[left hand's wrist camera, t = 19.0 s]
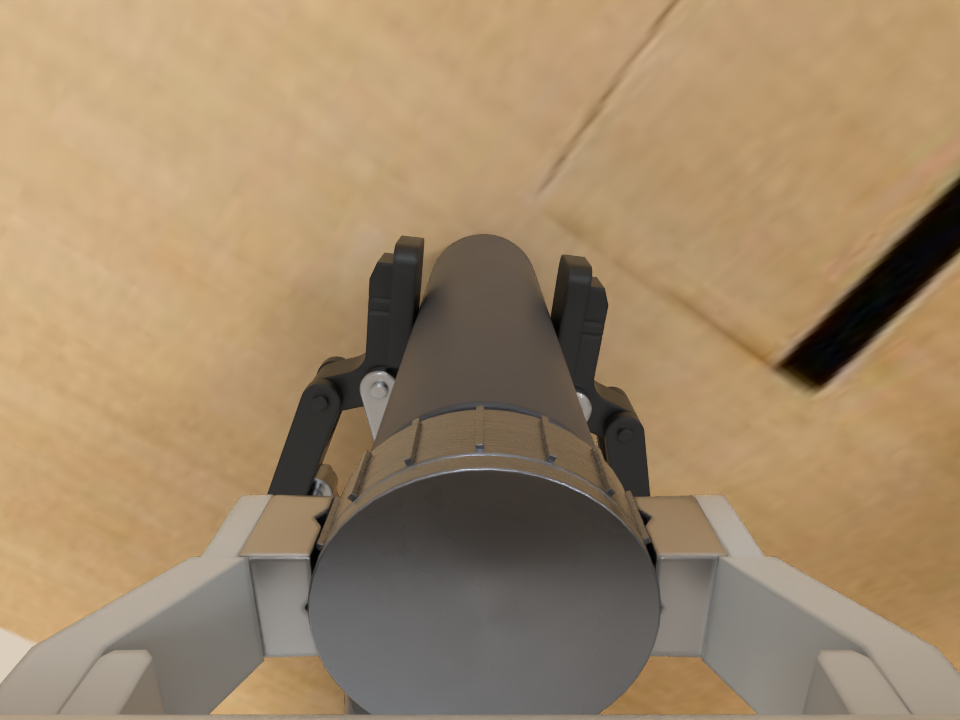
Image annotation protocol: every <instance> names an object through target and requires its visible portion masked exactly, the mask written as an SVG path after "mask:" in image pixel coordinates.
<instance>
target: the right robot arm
mask: <svg viewBox="0 0 960 720" xmlns="http://www.w3.org/2000/svg"><path fill="white" fill-rule="evenodd" d="M423 253H424V238H418V237H409V236H401V237H400V239H399V240H398V241H397V243H396V245H395V250H394V254H391V253H384V254H383V256H382V257H381V258H380V260H379V261H378V262H377V264H376V266H375V268H374V270H373V273H372V275H371V277H370V283H369V303H368V323H367V344H366V353H364V354H363V355H361V356H358V357H354V358H349V359H345V358H342V357H331V358H328V359H327V360H325V361H324V362H323V364H322V365H321V367H320V368H319V370H318V372H317V375H316V377H315V378H314V380H313V381H312V382H311V383H310V384H309V385H308V386H307V388H306V389H305V391H304V392H303V394H302V397H301V400H300V402H299V405H298V408H297V411H296V414H295V417H294V420H293V422H292V425H291V428H290V431H289V434H288V437H287V440H286V442H285V445H284V448H283V451H282V454H281V457H280V460H279V462H278V465H277V468H276V471H275V474H274V477H273V480H272V483H271V485H270V488H269V491H268V494H267V495H274V496H275V495H306V496H338V497H340V496H339V495H338V492H337V485H338V478H337V475H336V473H335V472H334V471H333V469H332V467H331V466H330V465H328V464H322V463H323V460H324V458H325V455H326V452H327V450H328V447H329V444H330V442H331V439H332V437H333V434H334V431H335V429H336V426H337V423H338V421H339V418H340V415H341V413H342V411H343V410H348V409H352V408H357V407H361V406H364V408H365V411H366V415H367V418H368V422H369V425H370V429H371V432H372V436H373V440H374V441H375V438H376V435H377V432H378V429H379V426H380V423H381V421H382V418H383V415H384V412H385V409H386V406H387V403H388V400H389V397H390V394H391V391H392V388H393V385H394V382H395V379H396V376H397V373H398V370H399V367H400V365H401V362H402V359H403V356H404V353H405V350H406V347H407V344H408V341H409V338H410V335H411V332H412V329H413V326H414V323H415V320H416V317H417V314H418V311H419V303H420V291H421V278H422V266H423ZM607 309H608V302H607V297H606V292H605V288H604V287H603V285H602V284H601V283H600V281H599V280H598V279H597V277H592V267H591V265H590V264H589V262H588V261H587V260H586V258H585V257H579V256H571V255H562V256H561V259H560V263H559V268H558V275H557V281H556V287H555V293H554V299H553V306H552V312H551V321H552V324H553V327H554V330H555V332H556V335H557V338H558V341H559V344H560V347H561V350H562V353H563V356H564V358H565V361H566V364H567V367H568V370H569V373H570V376H571V379H572V382H573V384H574V387H575V390H576V393H577V396H578V399H579V402H580V405H581V408H582V410H583V413H584V416H585V419H586V422H587V425H588V428H589V431H590V432H591V433H593V434H595V435H597V440H598V447H599V448H600V449H601V452H602V455H603V457H604V460H605V462H606V463H607V464H608V465H609V466H610V467H611V469H612V470H613V471H614V473H615V475H616V476H617V478H618V479H619V481H620V483H621V484H622V486H623V489H624V491H625V492H627V491H629V490H630V491H631V493H632V496H633V497H650V490H649V479H648V468H647V457H646V446H645V435H644V428H643V426H642V424H641V422H640V420H639V419H638V417H637V415H636V413H635V411H634V409H633V407H632V405H631V403H630V401H629V399H628V398H627V396H626V394H625V392H624V391H623V390H621V389H619V388H617V387H606V386H604V385H602V384H600V383H598V382H596V381H595V380H594V376H595V371H596V366H597V360H598V355H599V350H600V345H601V340H602V335H603V330H604V323H605V319H606V314H607ZM344 715H372V714H371V713H369V712H368V711H366V710H365V709H363V708H362V707H361V706H359V705H358V704H357V703H356V702H355V701H354V700H352V699H351V698H350V697H349V696H348V695H347V694H346V693H345V694H344Z"/></svg>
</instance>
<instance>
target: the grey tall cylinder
mask: <svg viewBox="0 0 960 720" xmlns="http://www.w3.org/2000/svg"><path fill="white" fill-rule="evenodd" d="M476 406H484V410H501V411H511V412H516V413H520V414H525V415H529V416H533V417H536V418H539V419H540V418H541V416H542V415H543V416H546V417H548V419H549V422H550V423H553V424H555V425H557V426H559V427H561V428H563V429H565V430H567V431H569V432H571V433H572V434H574V435H575V436H577V437H578V438H580V439H581V440H583V441H584V442H585V443H587V444H588V445H589V446H590V447H591V448H594V447H595V445H594V442H593V439H592V437H591V434H590V431H589V428H588V425H587V422H586V419H585V416H584V413H583V410H582V408H581V405H580V402H579V399H578V396H577V393H576V390H575V387H574V384H573V382H572V379H571V376H570V373H569V370H568V367H567V364H566V361H565V358H564V356H563V353H562V350H561V347H560V344H559V341H558V338H557V335H556V332H555V330H554V327H553V324H552V321H551V318H550V315H549V312H548V309H547V306H546V304H545V301H544V298H543V295H542V292H541V289H540V286H539V283H538V280H537V277H536V275H535V272H534V269H533V266H532V264H531V262H530V261H529V259H528V257H527V256H526V255H525V253H524V252H523V251H522V250H521V249H520V248H519V247H517V246H516V245H515V244H514V243H512V242H510V241H508V240H506V239H504V238H502V237H498V236H495V235H488V234H479V235H472V236H468V237H465V238H463V239H460V240H458V241H456V242H455V243H453V244H452V245H450V246H449V247H448V248H447V249H446V250H445V251H444V252H443V253H442V254H441V255H440V257H439V258H438V260H437V261H436V263H435V265H434V268H433V270H432V273H431V276H430V279H429V282H428V285H427V288H426V291H425V294H424V297H423V300H422V303H421V306H420V309H419V311H418V314H417V317H416V320H415V323H414V326H413V329H412V332H411V335H410V338H409V341H408V344H407V347H406V350H405V353H404V356H403V359H402V362H401V365H400V367H399V370H398V373H397V376H396V379H395V382H394V385H393V388H392V391H391V394H390V397H389V400H388V403H387V406H386V409H385V412H384V415H383V418H382V421H381V423H380V426H379V429H378V432H377V435H376V438H375V441H374V444H373V447H372V450H371V452H372V451H373V450H374V449H375V448H376V447H378V446H379V445H380V444H382V443H383V442H384V441H386V440H387V439H388V438H390V437H391V436H393V435H394V434H396V433H398V432H400V431H401V430H403V429H405V428H407V427H409V426H411V425H412V422H413V420H414V419H417V418H420V420H421V421H423V420H426V419H428V418H432V417H435V416H439V415H443V414H447V413H452V412H459V411H466V410H476Z"/></svg>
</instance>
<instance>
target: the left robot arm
mask: <svg viewBox="0 0 960 720" xmlns="http://www.w3.org/2000/svg"><path fill="white" fill-rule="evenodd" d="M335 497H336V496H306V495H275V496H274V495H244V496H242V497H240V498H239V499H238V500H237V502H236V503H235V505H234V507H233V508H232V510H231V511H230V513H229V514H228V516H227V517H226V519H225V520H224V522H223V524H222V525H221V527H220V528H219V530H218V531H217V533H216V534H215V536H214V537H213V539H212V541H211V542H210V544H209V545H208V547H207V548H206V550H205V551H204V553H203V554H202V556H201V557H190V558H188V559H187V560H185V561H183V562H181V563H180V564H178V565H176V566H174V567H173V568H171V569H169V570H167V571H165V572H164V573H162V574H160V575H158V576H157V577H155V578H153V579H151V580H150V581H148V582H146V583H144V584H143V585H141V586H139V587H137V588H135V589H134V590H132V591H130V592H128V593H127V594H125V595H123V596H121V597H120V598H118V599H116V600H114V601H113V602H111V603H109V604H107V605H105V606H104V607H102V608H100V609H98V610H97V611H95V612H93V613H91V614H90V615H88V616H86V617H84V618H82V619H81V620H79V621H77V622H75V623H74V624H72V625H70V626H68V627H67V628H65V629H63V630H61V631H60V632H58V633H56V634H54V635H52V636H51V637H49V638H47V639H45V640H44V641H42V642H40V643H38V644H37V645H35V646H33V647H32V648H31V649H30V650H29V651H28V652H27V654H26V655H25V656H24V657H23V658H22V659H21V660H20V662H19V663H18V664H17V665H16V666H15V668H14V669H13V670H12V671H11V672H10V673H9V674H8V676H7V677H6V678H5V679H4V680H3V682H2V683H1V684H0V720H960V673H959V672H958V671H957V670H956V669H955V668H954V666H953V665H952V664H951V663H950V662H949V661H948V660H947V658H946V657H945V656H944V655H943V654H942V653H941V651H940V650H939V649H938V648H936V647H935V646H933V645H931V644H929V643H928V642H926V641H924V640H922V639H920V638H919V637H917V636H915V635H913V634H912V633H910V632H908V631H906V630H904V629H903V628H901V627H899V626H897V625H896V624H894V623H892V622H890V621H888V620H887V619H885V618H883V617H881V616H880V615H878V614H876V613H874V612H872V611H871V610H869V609H867V608H865V607H864V606H862V605H860V604H858V603H856V602H855V601H853V600H851V599H849V598H848V597H846V596H844V595H842V594H840V593H839V592H837V591H835V590H833V589H832V588H830V587H828V586H826V585H824V584H823V583H821V582H819V581H817V580H816V579H814V578H812V577H810V576H809V575H807V574H805V573H803V572H801V571H800V570H798V569H796V568H794V567H793V566H791V565H789V564H787V563H785V562H784V561H782V560H780V559H778V558H777V557H765V555H764V554H763V552H762V551H761V549H760V548H759V546H758V545H757V543H756V542H755V540H754V539H753V537H752V536H751V534H750V533H749V531H748V530H747V528H746V527H745V525H744V524H743V522H742V521H741V519H740V518H739V516H738V515H737V513H736V512H735V510H734V509H733V507H732V506H731V504H730V503H729V501H728V500H727V498H726V497H724V496H723V495H721V494H714V495H690V496H655V497H633V498H634V501H635V503H636V506H637V508H638V511H639V513H640V516H641V518H642V521H643V523H644V526H645V528H646V531H647V533H648V536H649V538H650V541H651V543H650V544H647V545H646V547H647V550H648V552H649V555H650V558H651V560H652V563H653V565H654V568H655V571H656V574H657V579H658V583H659V587H660V596H661V616H660V626H659V630H658V634H657V638H656V641H655V645H654V647H653V650H652V652H651V654H650V656H673V657H702V661H703V662H705V663H706V664H707V665H708V666H709V667H710V668H711V669H712V670H713V671H714V672H715V673H716V674H717V675H718V676H719V677H720V678H721V679H722V680H723V681H724V682H725V683H726V684H727V685H728V686H729V687H730V688H731V689H732V690H733V691H734V692H736V693H737V694H738V695H739V696H740V697H741V698H742V699H743V700H744V701H745V702H746V703H747V704H748V705H749V706H750V707H751V708H752V709H753V710H754V711H755V712H756V713H757V714H758V715H209V714H210V713H211V712H212V711H213V710H214V709H215V708H216V707H217V706H218V705H219V704H220V703H221V702H222V701H223V700H224V699H225V698H226V697H227V696H228V695H229V694H230V693H231V692H232V691H233V690H234V689H235V688H236V687H237V686H238V685H240V684H241V683H242V682H243V681H244V680H245V679H246V678H247V677H248V676H249V675H250V674H251V673H252V672H253V671H254V670H255V669H256V668H257V667H258V666H259V665H260V664H261V663H262V662H263V661H264V657H292V656H319V654H318V653H317V650H316V647H315V644H314V641H313V638H312V635H311V631H310V625H309V619H308V592H309V587H310V581H311V576H312V573H313V571H314V568H315V565H316V562H317V559H318V557H319V554H320V550H317V549H315V548H316V545H317V542H318V540H319V537H320V535H321V532H322V529H323V527H324V524H325V522H326V519H327V517H328V514H329V512H330V509H331V507H332V504H333V502H334V499H335Z"/></svg>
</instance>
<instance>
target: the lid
mask: <svg viewBox="0 0 960 720" xmlns="http://www.w3.org/2000/svg"><path fill="white" fill-rule="evenodd" d="M650 543H651V541H650V538H649V536H648V533H647V531H646V528H645V526H644V523H643V521H642V518H641V516H640V513H639V511H638V508H637V506H636V503H635V501H634V498H633V496H632V493H631V491H630V490H629V491H627V492H625V491H624V489H623V486H622V484H621V483H620V481H619V479H618V478H617V476H616V475H615V473H614V471H613V470H612V469H611V467H610V466H609V465H608V464H607V463H606V462H605V460H604V457H603V455H602V452H601V449H600V448H599V447H597V446H595V447H594V448H591V447H590V446H589V445H588V444H587V443H585V442H584V441H583V440H581V439H580V438H578V437H577V436H575V435H574V434H572V433H571V432H569V431H567V430H565V429H563V428H561V427H559V426H557V425H555V424H553V423H550V422H549V419H548V417H546V416H543V415H542V416H541V418H540V419H539V418H536V417H533V416H529V415H525V414H520V413H516V412H511V411H501V410H484V406H476V410H466V411H459V412H452V413H447V414H443V415H439V416H435V417H432V418H428V419H426V420H423V421H421V420H420V418H417V419H414V420H413V422H412V425H411V426H409V427H407V428H405V429H403V430H401V431H400V432H398V433H396V434H394V435H393V436H391V437H390V438H388V439H387V440H386V441H384V442H383V443H382V444H380V445H379V446H378V447H376V448H375V449H374V450H373V451H372V452H371V453H370V452H369V451H368V450H366V451H365V452H364V453H363V455H362V457H361V460H360V463H359V466H358V468H357V469H356V470H355V472H354V473H353V474H352V476H351V478H350V480H349V481H348V483H347V485H346V487H345V489H344V491H343V493H342V496H341V497H338V496H336V497H335V499H334V502H333V504H332V507H331V509H330V512H329V514H328V517H327V519H326V522H325V524H324V527H323V529H322V532H321V535H320V537H319V540H318V542H317V545H316V548H315V549H317V550H320V554H319V557H318V559H317V562H316V565H315V568H314V571H313V573H312V576H311V581H310V587H309V592H308V619H309V625H310V631H311V635H312V638H313V641H314V644H315V647H316V650H317V653H318V654H319V656H320V658H321V660H322V662H323V664H324V666H325V668H326V669H327V671H328V672H329V674H330V675H331V677H332V678H333V679H334V681H335V682H336V683H337V684H338V685H339V687H340V688H341V689H342V690H343V691H344V692H345V693H346V694H347V695H348V696H349V697H350V698H351V699H352V700H354V701H355V702H356V703H357V704H358V705H359V706H361V707H362V708H363V709H365V710H366V711H368V712H369V713H371V714H372V715H597V714H599V713H600V712H602V711H603V710H604V709H606V708H607V707H609V706H610V705H611V704H612V703H613V702H615V701H616V700H617V699H618V698H619V697H620V696H621V695H622V694H623V693H624V692H625V691H626V690H627V689H628V688H629V687H630V685H631V684H632V683H633V682H634V681H635V680H636V678H637V677H638V675H639V674H640V672H641V671H642V669H643V668H644V666H645V664H646V663H647V661H648V659H649V656H650V654H651V652H652V650H653V647H654V645H655V641H656V638H657V634H658V630H659V626H660V616H661V596H660V587H659V583H658V579H657V574H656V571H655V568H654V565H653V563H652V560H651V558H650V555H649V552H648V550H647V547H646V545H647V544H650Z"/></svg>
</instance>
